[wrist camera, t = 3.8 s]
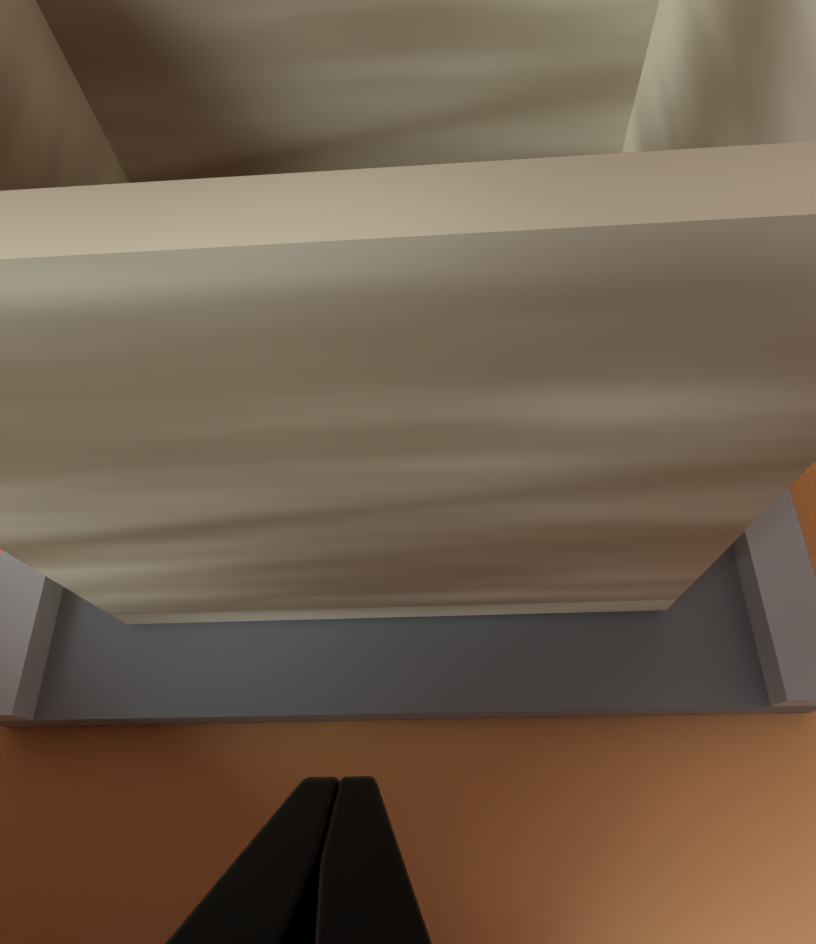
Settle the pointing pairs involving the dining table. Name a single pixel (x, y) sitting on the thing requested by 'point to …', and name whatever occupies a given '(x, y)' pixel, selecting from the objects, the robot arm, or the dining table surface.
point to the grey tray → (426, 655)
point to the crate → (401, 299)
